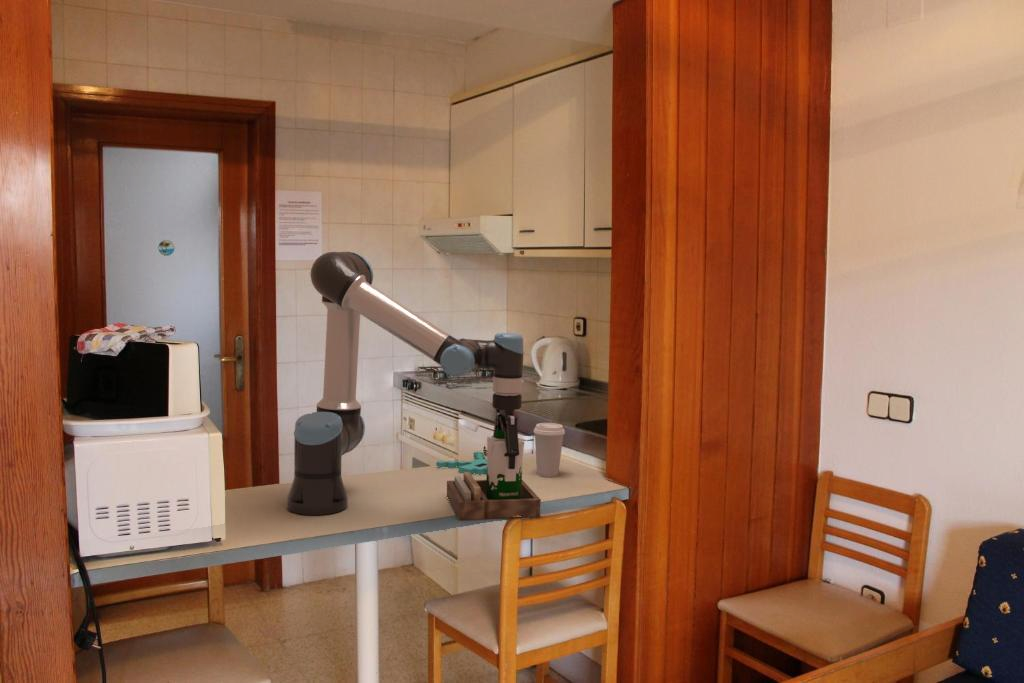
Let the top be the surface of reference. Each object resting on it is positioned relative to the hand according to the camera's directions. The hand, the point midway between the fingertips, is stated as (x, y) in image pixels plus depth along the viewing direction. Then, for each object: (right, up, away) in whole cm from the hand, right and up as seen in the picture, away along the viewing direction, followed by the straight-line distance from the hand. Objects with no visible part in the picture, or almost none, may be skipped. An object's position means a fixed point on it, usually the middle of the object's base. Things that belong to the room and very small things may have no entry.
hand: (504, 474), depth 228 cm
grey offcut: (-11, -9, -2) cm, 14 cm away
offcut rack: (-3, -8, 0) cm, 9 cm away
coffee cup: (+13, -6, +36) cm, 38 cm away
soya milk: (0, -9, +1) cm, 9 cm away
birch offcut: (-9, -9, -1) cm, 12 cm away
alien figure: (-7, -5, +41) cm, 42 cm away
